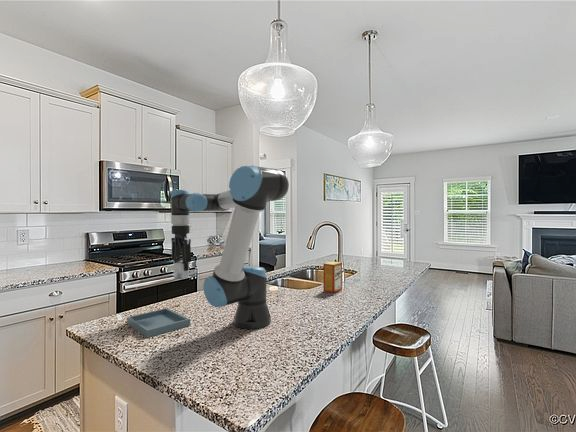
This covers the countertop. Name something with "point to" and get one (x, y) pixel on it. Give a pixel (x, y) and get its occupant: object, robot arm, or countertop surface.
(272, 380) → the countertop surface
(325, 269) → the baking soda box
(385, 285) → the countertop surface
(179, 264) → the knob
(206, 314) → the countertop surface
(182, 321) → the parts tray
